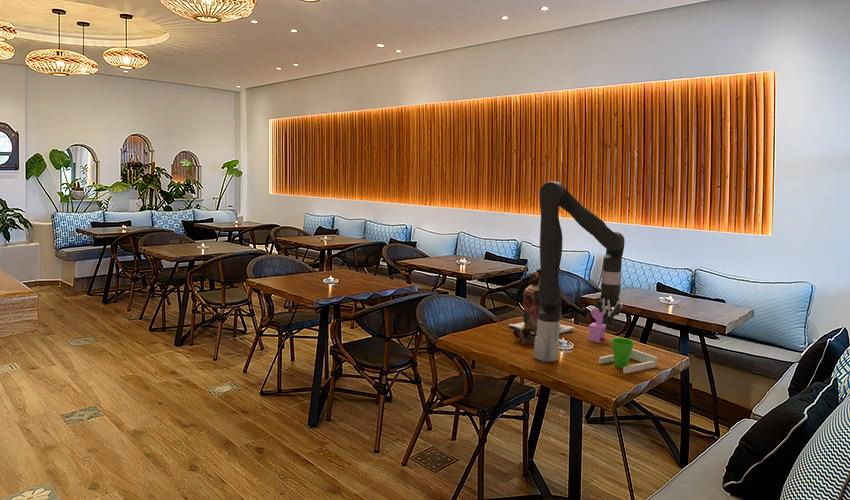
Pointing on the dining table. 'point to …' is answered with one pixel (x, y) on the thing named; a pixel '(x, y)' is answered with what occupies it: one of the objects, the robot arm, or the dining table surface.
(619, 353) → the cup
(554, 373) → the dining table surface
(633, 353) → the bay
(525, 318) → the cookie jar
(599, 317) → the toy chair
